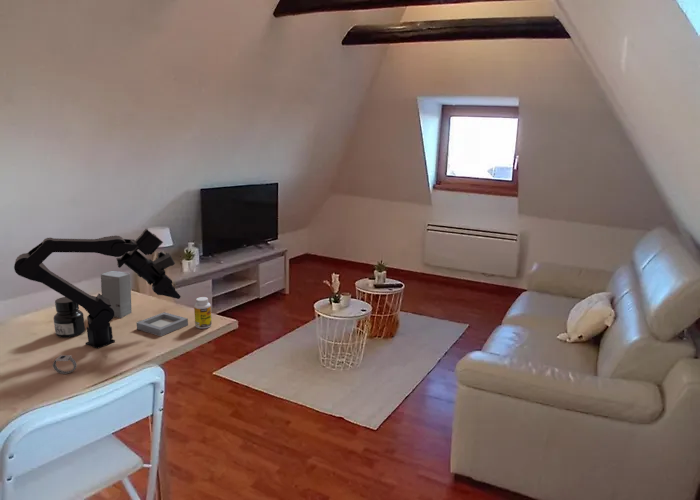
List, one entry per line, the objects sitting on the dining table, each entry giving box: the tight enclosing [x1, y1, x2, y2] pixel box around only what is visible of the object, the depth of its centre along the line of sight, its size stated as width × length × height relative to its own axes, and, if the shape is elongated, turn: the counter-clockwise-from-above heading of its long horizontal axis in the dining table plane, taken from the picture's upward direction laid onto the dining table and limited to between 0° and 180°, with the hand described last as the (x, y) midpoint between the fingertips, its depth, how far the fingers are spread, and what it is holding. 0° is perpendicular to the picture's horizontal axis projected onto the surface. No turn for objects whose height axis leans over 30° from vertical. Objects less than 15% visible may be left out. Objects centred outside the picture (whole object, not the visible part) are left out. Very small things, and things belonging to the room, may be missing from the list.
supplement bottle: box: [193, 296, 212, 330], centre depth 186 cm, size 6×6×10 cm
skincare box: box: [100, 270, 132, 319], centre depth 196 cm, size 8×7×16 cm
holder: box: [136, 311, 189, 337], centre depth 186 cm, size 12×12×2 cm
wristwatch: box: [52, 354, 77, 375], centre depth 152 cm, size 6×3×5 cm, turn 92°
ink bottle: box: [53, 296, 86, 339], centre depth 179 cm, size 10×9×12 cm
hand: (177, 293), depth 181 cm, fingers open, 9 cm apart
